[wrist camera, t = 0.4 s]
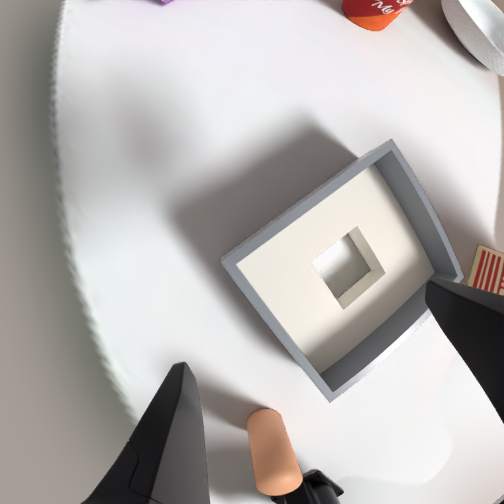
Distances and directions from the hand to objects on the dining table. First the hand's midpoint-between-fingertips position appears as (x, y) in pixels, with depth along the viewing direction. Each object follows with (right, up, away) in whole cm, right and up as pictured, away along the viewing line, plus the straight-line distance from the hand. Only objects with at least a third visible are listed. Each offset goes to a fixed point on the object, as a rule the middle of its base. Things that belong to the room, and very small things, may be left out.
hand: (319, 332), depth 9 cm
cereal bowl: (+30, +34, +15) cm, 48 cm away
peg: (-1, -13, +14) cm, 19 cm away
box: (+5, +2, +13) cm, 14 cm away
